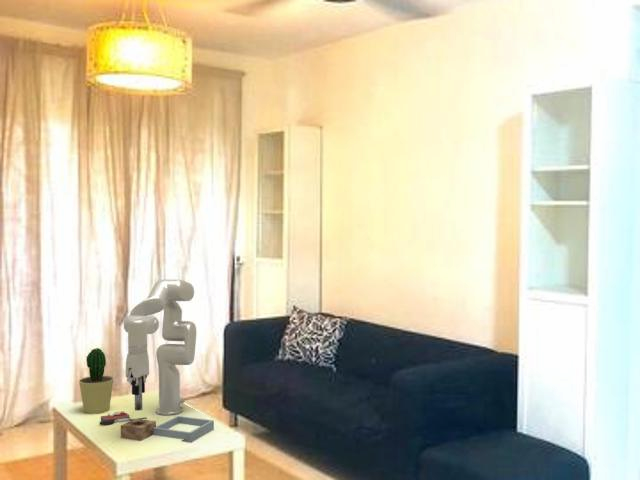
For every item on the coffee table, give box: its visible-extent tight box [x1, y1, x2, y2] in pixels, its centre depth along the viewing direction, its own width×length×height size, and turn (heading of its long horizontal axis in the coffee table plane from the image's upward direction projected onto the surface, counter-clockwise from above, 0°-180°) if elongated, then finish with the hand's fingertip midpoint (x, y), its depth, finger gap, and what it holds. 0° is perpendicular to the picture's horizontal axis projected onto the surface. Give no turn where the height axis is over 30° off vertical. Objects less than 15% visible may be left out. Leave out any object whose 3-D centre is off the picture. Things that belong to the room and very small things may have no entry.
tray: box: [152, 415, 215, 443], centre depth 276 cm, size 18×18×4 cm
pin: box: [134, 373, 144, 411], centre depth 270 cm, size 5×5×15 cm
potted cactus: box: [78, 347, 114, 415], centre depth 309 cm, size 15×15×30 cm
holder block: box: [120, 418, 157, 442], centre depth 270 cm, size 10×10×6 cm
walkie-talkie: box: [99, 410, 148, 426], centre depth 292 cm, size 9×4×20 cm
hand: (138, 393), depth 270 cm, fingers closed on pin, 3 cm apart
